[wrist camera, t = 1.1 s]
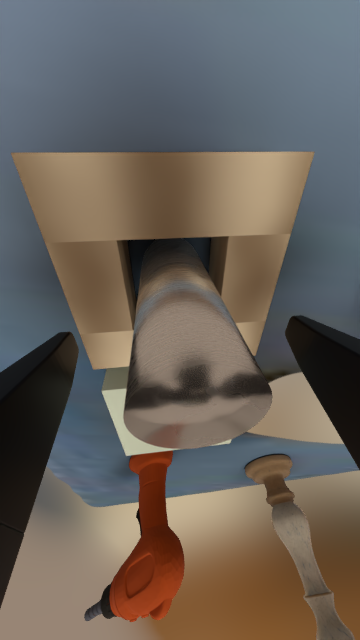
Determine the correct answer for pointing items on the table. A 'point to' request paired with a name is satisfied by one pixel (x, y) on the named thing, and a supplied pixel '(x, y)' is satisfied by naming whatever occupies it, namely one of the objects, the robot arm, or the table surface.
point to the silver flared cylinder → (188, 357)
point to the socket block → (162, 229)
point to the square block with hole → (115, 401)
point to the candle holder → (298, 543)
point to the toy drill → (147, 552)
